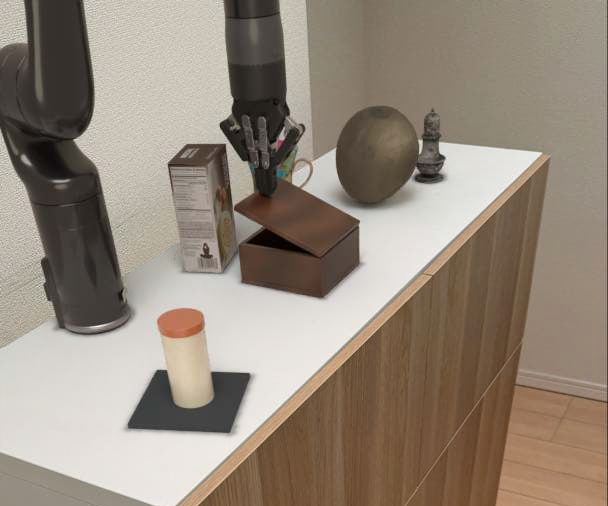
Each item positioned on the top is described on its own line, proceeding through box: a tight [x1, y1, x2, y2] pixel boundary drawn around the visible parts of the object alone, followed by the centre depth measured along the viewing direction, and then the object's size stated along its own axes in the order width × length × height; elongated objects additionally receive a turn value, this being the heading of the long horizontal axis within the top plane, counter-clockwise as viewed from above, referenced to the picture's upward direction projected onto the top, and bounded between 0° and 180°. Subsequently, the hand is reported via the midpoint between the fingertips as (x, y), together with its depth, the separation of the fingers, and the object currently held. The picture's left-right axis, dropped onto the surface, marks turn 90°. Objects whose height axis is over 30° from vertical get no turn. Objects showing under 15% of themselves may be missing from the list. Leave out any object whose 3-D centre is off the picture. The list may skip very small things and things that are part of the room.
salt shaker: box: [414, 107, 447, 184], centre depth 141 cm, size 6×6×12 cm
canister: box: [156, 307, 215, 408], centre depth 89 cm, size 5×5×10 cm
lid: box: [233, 177, 361, 258], centre depth 111 cm, size 14×13×1 cm
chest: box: [237, 225, 360, 299], centre depth 115 cm, size 14×13×6 cm
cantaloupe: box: [335, 105, 420, 205], centre depth 132 cm, size 14×14×15 cm
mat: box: [127, 369, 251, 433], centre depth 92 cm, size 12×12×1 cm
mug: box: [246, 139, 314, 193], centre depth 132 cm, size 12×9×11 cm
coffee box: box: [166, 143, 238, 274], centre depth 117 cm, size 9×6×16 cm
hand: (267, 193), depth 112 cm, fingers closed
